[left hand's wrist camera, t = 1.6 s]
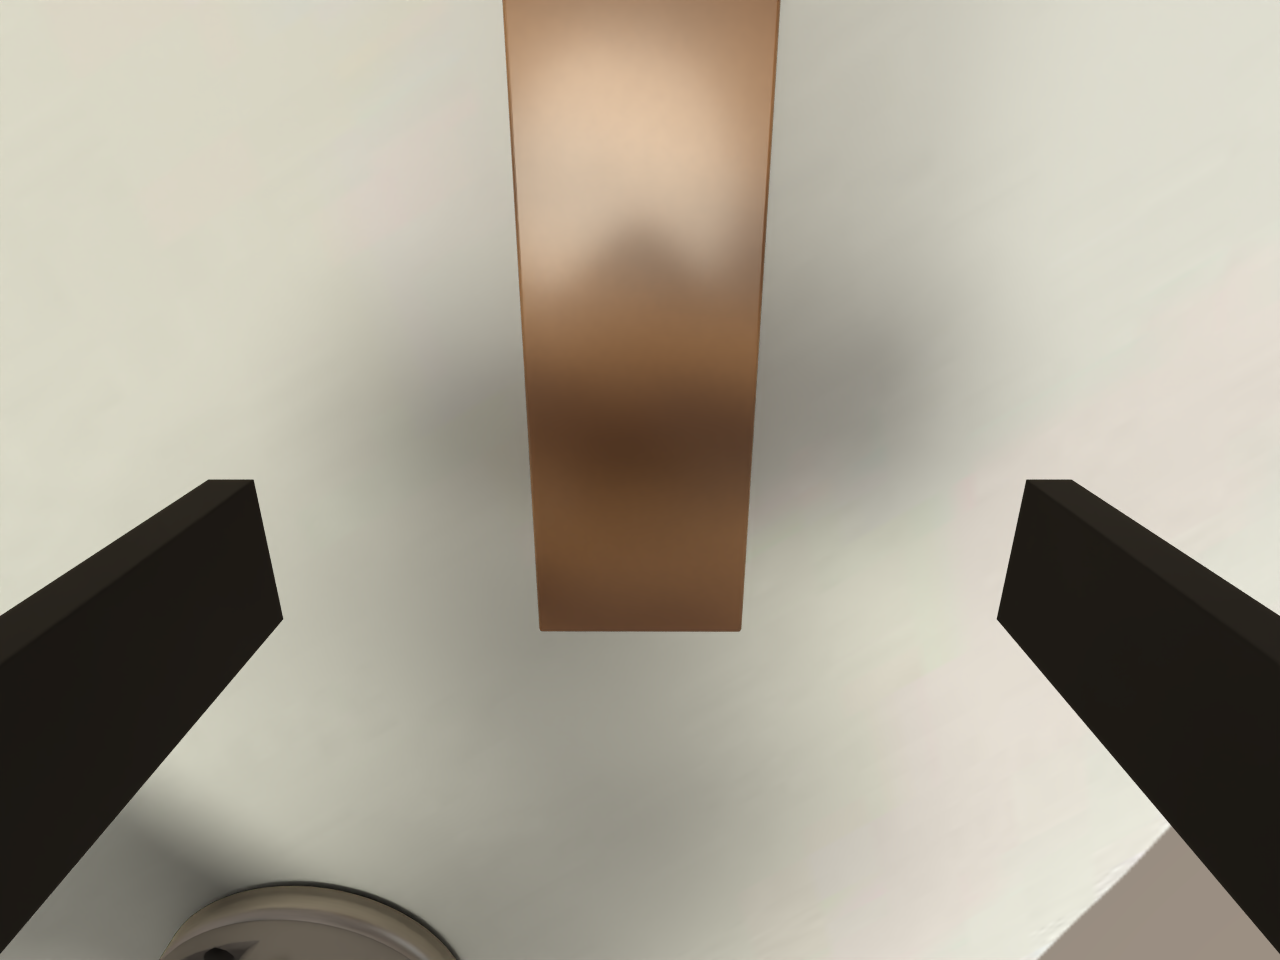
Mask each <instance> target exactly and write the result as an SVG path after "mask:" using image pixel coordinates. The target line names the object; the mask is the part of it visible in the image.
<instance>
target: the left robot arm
mask: <svg viewBox="0 0 1280 960" xmlns="http://www.w3.org/2000/svg"><path fill="white" fill-rule="evenodd" d="M282 620H283V616H282V611H281V606H280V602H279V597H278V592H277V587H276V583H275V578H274V573H273V569H272V564H271V559H270V555H269V550H268V545H267V540H266V536H265V531H264V526H263V522H262V517H261V512H260V508H259V503H258V498H257V493H256V489H255V484H254V480H207V481H206V482H204V483H203V484H201V485H200V486H198V487H196V488H195V489H193V490H192V491H190V492H189V493H187V494H186V495H184V496H183V497H181V498H180V499H178V500H177V501H175V502H174V503H172V504H170V505H169V506H167V507H166V508H164V509H163V510H161V511H160V512H158V513H157V514H155V515H154V516H152V517H151V518H149V519H148V520H146V521H145V522H143V523H141V524H140V525H138V526H137V527H135V528H134V529H132V530H131V531H129V532H128V533H126V534H125V535H123V536H122V537H120V538H119V539H117V540H115V541H114V542H112V543H111V544H109V545H108V546H106V547H105V548H103V549H102V550H100V551H99V552H97V553H96V554H94V555H93V556H91V557H90V558H88V559H86V560H85V561H83V562H82V563H80V564H79V565H77V566H76V567H74V568H73V569H71V570H70V571H68V572H67V573H65V574H64V575H62V576H60V577H59V578H57V579H56V580H54V581H53V582H51V583H50V584H48V585H47V586H45V587H44V588H42V589H41V590H39V591H38V592H36V593H35V594H33V595H31V596H30V597H28V598H27V599H25V600H24V601H22V602H21V603H19V604H18V605H16V606H15V607H13V608H12V609H10V610H9V611H7V612H6V613H4V614H2V615H1V616H0V953H1V952H2V951H3V950H4V949H5V948H6V946H7V945H8V944H9V943H10V942H11V940H12V939H13V938H14V937H15V936H16V935H17V933H18V932H19V931H20V930H21V929H22V927H23V926H24V925H25V924H26V923H27V922H28V920H29V919H30V918H31V917H32V916H33V914H34V913H35V912H36V911H37V910H38V909H39V907H40V906H41V905H42V904H43V903H44V901H45V900H46V899H47V898H48V897H49V896H50V894H51V893H52V892H53V891H54V890H55V888H56V887H57V886H58V885H59V884H60V883H61V881H62V880H63V879H64V878H65V877H66V875H67V874H68V873H69V872H70V871H71V870H72V868H73V867H74V866H75V865H76V864H77V862H78V861H79V860H80V859H81V858H82V856H83V855H84V854H85V853H86V852H87V851H88V849H89V848H90V847H91V846H92V845H93V843H94V842H95V841H96V840H97V839H98V838H99V836H100V835H101V834H102V833H103V832H104V830H105V829H106V828H107V827H108V826H109V825H110V823H111V822H112V821H113V820H114V819H115V817H116V816H117V815H118V814H119V813H120V812H121V810H122V809H123V808H124V807H125V806H126V804H127V803H128V802H129V801H130V800H131V799H132V797H133V796H134V795H135V794H136V793H137V791H138V790H139V789H140V788H141V787H142V786H143V784H144V783H145V782H146V781H147V780H148V778H149V777H150V776H151V775H152V774H153V773H154V771H155V770H156V769H157V768H158V767H159V765H160V764H161V763H162V762H163V761H164V760H165V758H166V757H167V756H168V755H169V754H170V752H171V751H172V750H173V749H174V748H175V747H176V745H177V744H178V743H179V742H180V741H181V739H182V738H183V737H184V736H185V735H186V733H187V732H188V731H189V730H190V729H191V728H192V726H193V725H194V724H195V723H196V722H197V720H198V719H199V718H200V717H201V716H202V715H203V713H204V712H205V711H206V710H207V709H208V707H209V706H210V705H211V704H212V703H213V702H214V700H215V699H216V698H217V697H218V696H219V694H220V693H221V692H222V691H223V690H224V689H225V687H226V686H227V685H228V684H229V683H230V681H231V680H232V679H233V678H234V677H235V676H236V674H237V673H238V672H239V671H240V670H241V668H242V667H243V666H244V665H245V664H246V663H247V661H248V660H249V659H250V658H251V657H252V655H253V654H254V653H255V652H256V651H257V650H258V648H259V647H260V646H261V645H262V644H263V642H264V641H265V640H266V639H267V638H268V637H269V635H270V634H271V633H272V632H273V631H274V629H275V628H276V627H277V626H278V625H279V624H280V622H281V621H282ZM997 620H998V621H999V622H1000V624H1001V625H1002V626H1003V627H1004V628H1005V629H1006V631H1007V632H1008V633H1009V634H1010V635H1011V637H1012V638H1013V639H1014V640H1015V641H1016V642H1017V644H1018V645H1019V646H1020V647H1021V648H1022V650H1023V651H1024V652H1025V653H1026V654H1027V655H1028V657H1029V658H1030V659H1031V660H1032V661H1033V663H1034V664H1035V665H1036V666H1037V667H1038V668H1039V670H1040V671H1041V672H1042V673H1043V674H1044V676H1045V677H1046V678H1047V679H1048V680H1049V681H1050V683H1051V684H1052V685H1053V686H1054V687H1055V689H1056V690H1057V691H1058V692H1059V693H1060V694H1061V696H1062V697H1063V698H1064V699H1065V700H1066V702H1067V703H1068V704H1069V705H1070V706H1071V707H1072V709H1073V710H1074V711H1075V712H1076V713H1077V715H1078V716H1079V717H1080V718H1081V719H1082V720H1083V722H1084V723H1085V724H1086V725H1087V726H1088V728H1089V729H1090V730H1091V731H1092V732H1093V733H1094V735H1095V736H1096V737H1097V738H1098V739H1099V741H1100V742H1101V743H1102V744H1103V745H1104V747H1105V748H1106V749H1107V750H1108V751H1109V752H1110V754H1111V755H1112V756H1113V757H1114V758H1115V760H1116V761H1117V762H1118V763H1119V764H1120V765H1121V767H1122V768H1123V769H1124V770H1125V771H1126V773H1127V774H1128V775H1129V776H1130V777H1131V778H1132V780H1133V781H1134V782H1135V783H1136V784H1137V786H1138V787H1139V788H1140V789H1141V790H1142V791H1143V793H1144V794H1145V795H1146V796H1147V797H1148V799H1149V800H1150V801H1151V802H1152V803H1153V804H1154V806H1155V807H1156V808H1157V809H1158V810H1159V812H1160V813H1161V814H1162V815H1163V816H1164V817H1165V819H1166V820H1167V821H1168V822H1169V823H1170V825H1171V826H1172V827H1173V828H1174V829H1175V830H1176V832H1177V833H1178V834H1179V835H1180V836H1181V838H1182V839H1183V840H1184V841H1185V842H1186V843H1187V845H1188V846H1189V847H1190V848H1191V849H1192V851H1193V852H1194V853H1195V854H1196V855H1197V856H1198V858H1199V859H1200V860H1201V861H1202V862H1203V864H1204V865H1205V866H1206V867H1207V868H1208V870H1209V871H1210V872H1211V873H1212V874H1213V875H1214V877H1215V878H1216V879H1217V880H1218V881H1219V882H1220V884H1221V885H1222V886H1223V887H1224V888H1225V890H1226V891H1227V892H1228V893H1229V894H1230V895H1231V897H1232V898H1233V899H1234V900H1235V901H1236V903H1237V904H1238V905H1239V906H1240V907H1241V909H1242V910H1243V911H1244V912H1245V913H1246V914H1247V916H1248V917H1249V918H1250V919H1251V920H1252V922H1253V923H1254V924H1255V925H1256V926H1257V927H1258V929H1259V930H1260V931H1261V932H1262V933H1263V934H1264V936H1265V937H1266V938H1267V939H1268V940H1269V942H1270V943H1271V944H1272V945H1273V946H1274V948H1275V949H1276V950H1277V951H1278V952H1279V953H1280V616H1279V615H1278V614H1276V613H1274V612H1273V611H1271V610H1270V609H1268V608H1267V607H1265V606H1264V605H1262V604H1261V603H1259V602H1258V601H1256V600H1255V599H1253V598H1252V597H1250V596H1249V595H1247V594H1245V593H1244V592H1242V591H1241V590H1239V589H1238V588H1236V587H1235V586H1233V585H1232V584H1230V583H1229V582H1227V581H1226V580H1224V579H1223V578H1221V577H1220V576H1218V575H1216V574H1215V573H1213V572H1212V571H1210V570H1209V569H1207V568H1206V567H1204V566H1203V565H1201V564H1200V563H1198V562H1197V561H1195V560H1194V559H1192V558H1190V557H1189V556H1187V555H1186V554H1184V553H1183V552H1181V551H1180V550H1178V549H1177V548H1175V547H1174V546H1172V545H1171V544H1169V543H1168V542H1166V541H1165V540H1163V539H1161V538H1160V537H1158V536H1157V535H1155V534H1154V533H1152V532H1151V531H1149V530H1148V529H1146V528H1145V527H1143V526H1142V525H1140V524H1139V523H1137V522H1135V521H1134V520H1132V519H1131V518H1129V517H1128V516H1126V515H1125V514H1123V513H1122V512H1120V511H1119V510H1117V509H1116V508H1114V507H1113V506H1111V505H1110V504H1108V503H1106V502H1105V501H1103V500H1102V499H1100V498H1099V497H1097V496H1096V495H1094V494H1093V493H1091V492H1090V491H1088V490H1087V489H1085V488H1084V487H1082V486H1080V485H1079V484H1077V483H1076V482H1074V481H1073V480H1026V484H1025V489H1024V493H1023V498H1022V503H1021V508H1020V512H1019V517H1018V522H1017V526H1016V531H1015V536H1014V540H1013V545H1012V550H1011V555H1010V559H1009V564H1008V569H1007V573H1006V578H1005V583H1004V587H1003V592H1002V597H1001V602H1000V606H999V611H998V616H997ZM159 960H456V959H455V958H454V956H453V955H452V954H451V952H450V951H449V950H448V949H447V947H446V946H445V945H444V944H443V943H442V942H441V941H440V940H439V939H438V938H437V937H436V936H434V935H433V934H432V933H431V932H430V931H429V930H427V929H426V928H425V927H423V926H422V925H421V924H419V923H418V922H416V921H415V920H413V919H411V918H410V917H408V916H406V915H405V914H403V913H401V912H399V911H397V910H395V909H393V908H391V907H389V906H387V905H384V904H382V903H379V902H377V901H374V900H372V899H369V898H366V897H363V896H359V895H356V894H352V893H348V892H344V891H339V890H333V889H328V888H320V887H310V886H275V887H265V888H259V889H253V890H248V891H244V892H240V893H236V894H233V895H230V896H227V897H225V898H222V899H220V900H218V901H215V902H213V903H211V904H209V905H208V906H206V907H204V908H203V909H201V910H199V911H198V912H197V913H195V914H194V915H193V916H191V917H190V918H189V919H188V920H187V921H186V922H185V923H184V924H183V925H182V926H181V927H180V929H179V930H178V931H177V933H176V934H175V935H174V937H173V939H172V940H171V942H170V943H169V945H168V947H167V948H166V950H165V951H164V953H163V955H162V956H161V958H160V959H159Z"/></svg>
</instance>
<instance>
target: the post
mask: <svg viewBox="0 0 1280 960" xmlns="http://www.w3.org/2000/svg"><path fill="white" fill-rule="evenodd" d="M502 1H503V18H504V35H505V52H506V69H507V86H508V103H509V120H510V137H511V154H512V171H513V188H514V204H515V221H516V238H517V255H518V272H519V289H520V306H521V323H522V340H523V357H524V374H525V391H526V408H527V425H528V442H529V459H530V476H531V493H532V510H533V527H534V544H535V561H536V578H537V595H538V612H539V628H540V631H684V632H739V631H740V630H741V626H742V610H743V594H744V578H745V562H746V546H747V530H748V514H749V498H750V482H751V466H752V450H753V434H754V418H755V402H756V386H757V370H758V354H759V338H760V322H761V306H762V290H763V274H764V258H765V242H766V226H767V210H768V194H769V178H770V162H771V146H772V130H773V113H774V97H775V81H776V65H777V49H778V33H779V17H780V1H781V0H502Z"/></svg>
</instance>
